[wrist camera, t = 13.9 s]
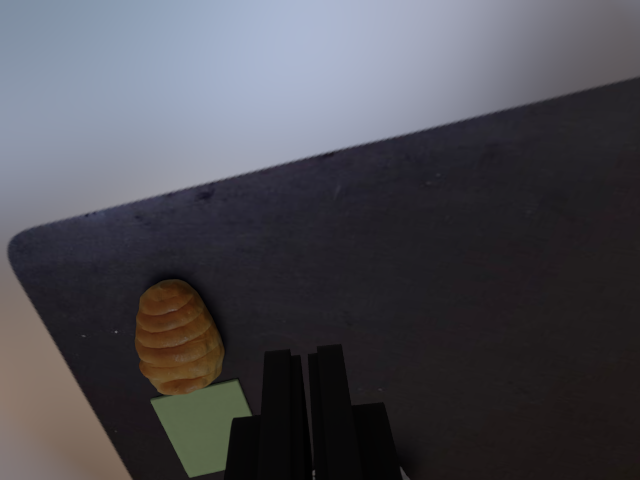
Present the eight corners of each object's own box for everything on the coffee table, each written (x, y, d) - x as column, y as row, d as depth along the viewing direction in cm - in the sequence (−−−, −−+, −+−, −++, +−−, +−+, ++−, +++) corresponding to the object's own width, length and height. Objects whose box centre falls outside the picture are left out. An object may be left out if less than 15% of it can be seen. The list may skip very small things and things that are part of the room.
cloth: (150, 398, 44) (150, 400, 44) (237, 378, 44) (237, 380, 43) (189, 475, 48) (189, 477, 48) (269, 457, 48) (269, 460, 48)
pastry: (123, 280, 39) (108, 306, 36) (209, 269, 39) (202, 294, 36) (153, 374, 43) (141, 406, 40) (231, 364, 43) (226, 395, 40)
